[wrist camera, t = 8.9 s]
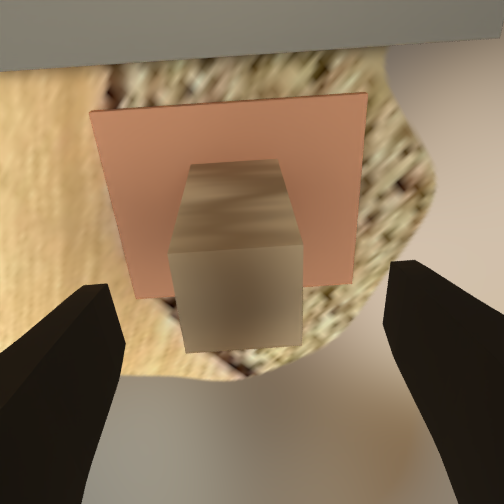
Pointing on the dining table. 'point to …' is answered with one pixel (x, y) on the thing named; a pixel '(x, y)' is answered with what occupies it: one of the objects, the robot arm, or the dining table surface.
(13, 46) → the pocket plate
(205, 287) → the peg
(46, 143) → the dining table surface
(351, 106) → the mat
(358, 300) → the dining table surface
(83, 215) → the dining table surface
